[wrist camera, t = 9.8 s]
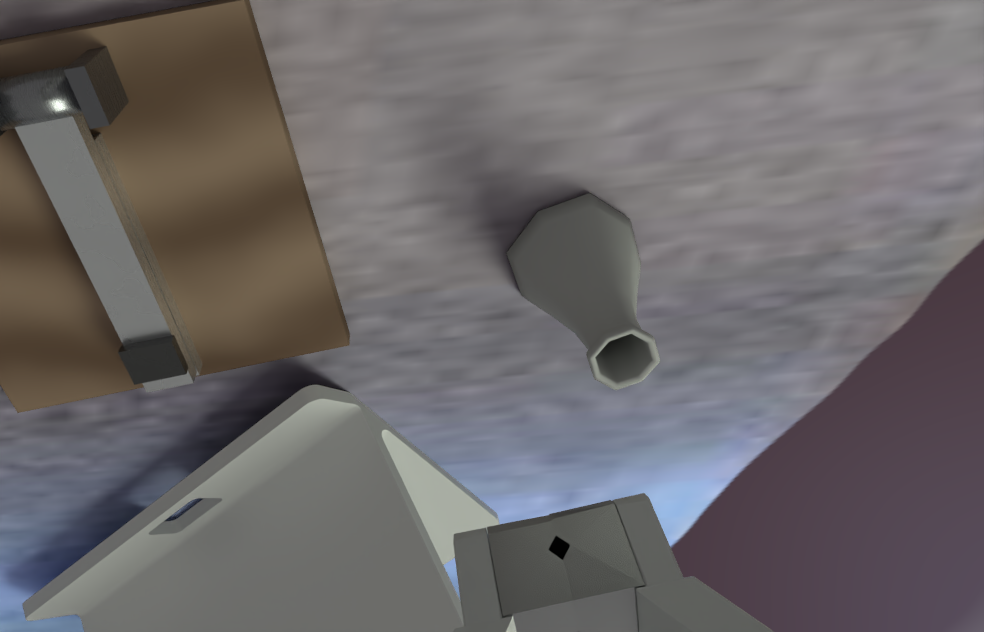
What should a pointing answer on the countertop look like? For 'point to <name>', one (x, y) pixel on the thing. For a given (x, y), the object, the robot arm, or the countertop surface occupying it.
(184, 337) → the lower tong arm
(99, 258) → the upper tong arm
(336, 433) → the tablet stand
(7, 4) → the countertop surface
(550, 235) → the flask
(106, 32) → the walnut board
